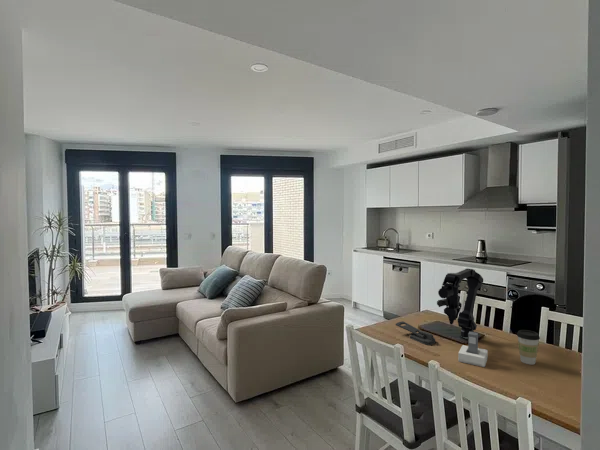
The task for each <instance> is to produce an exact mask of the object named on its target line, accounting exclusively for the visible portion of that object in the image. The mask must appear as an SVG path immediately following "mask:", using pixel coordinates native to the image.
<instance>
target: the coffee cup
mask: <svg viewBox="0 0 600 450" xmlns="http://www.w3.org/2000/svg"><path fill="white" fill-rule="evenodd" d="M516 336H517V344H518V345H517V346H518V351H519V356H520V358H519V359H520V362H522V364H525V365H535V364H536V361H537V357H538V350H539V341H540V339H541V337H540V335H539V333H538V332H536V331H533V330H530V329H529V330H528V329H520V330H518V331H517V333H516Z"/></svg>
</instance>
